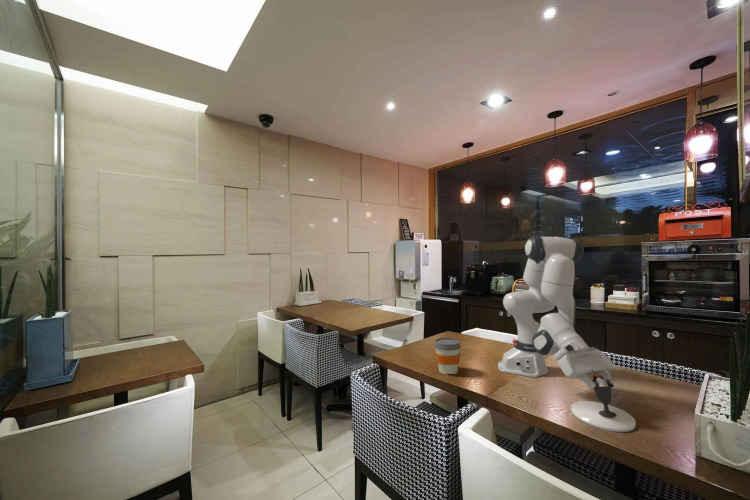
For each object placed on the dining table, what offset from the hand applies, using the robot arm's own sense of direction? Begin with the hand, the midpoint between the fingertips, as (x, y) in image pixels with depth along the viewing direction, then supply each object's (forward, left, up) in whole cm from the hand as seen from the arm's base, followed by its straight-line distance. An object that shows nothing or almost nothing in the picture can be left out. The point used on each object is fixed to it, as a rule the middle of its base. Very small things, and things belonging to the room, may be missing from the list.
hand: (602, 386), depth 104 cm
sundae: (+1, 0, -10) cm, 10 cm away
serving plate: (0, +1, -11) cm, 11 cm away
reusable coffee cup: (-55, +29, -11) cm, 63 cm away
